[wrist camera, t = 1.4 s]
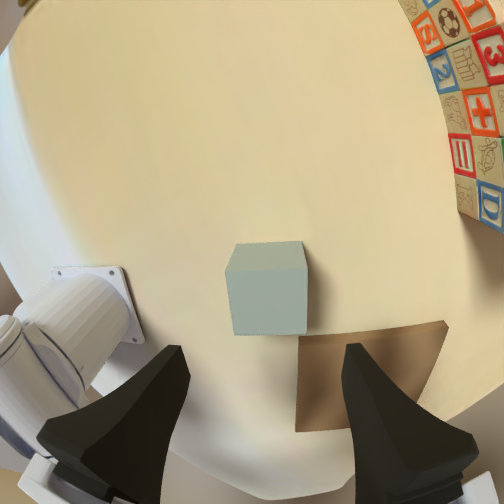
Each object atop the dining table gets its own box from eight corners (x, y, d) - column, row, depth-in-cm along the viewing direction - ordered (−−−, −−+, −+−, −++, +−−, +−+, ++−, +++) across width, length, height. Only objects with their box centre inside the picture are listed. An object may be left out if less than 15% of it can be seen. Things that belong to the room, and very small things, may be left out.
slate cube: (242, 298, 21) (234, 335, 17) (236, 243, 19) (224, 271, 15) (302, 296, 20) (306, 333, 16) (301, 240, 19) (307, 268, 14)
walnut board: (295, 424, 26) (295, 432, 25) (298, 336, 21) (299, 345, 20) (406, 409, 25) (408, 416, 24) (443, 320, 20) (448, 327, 19)
